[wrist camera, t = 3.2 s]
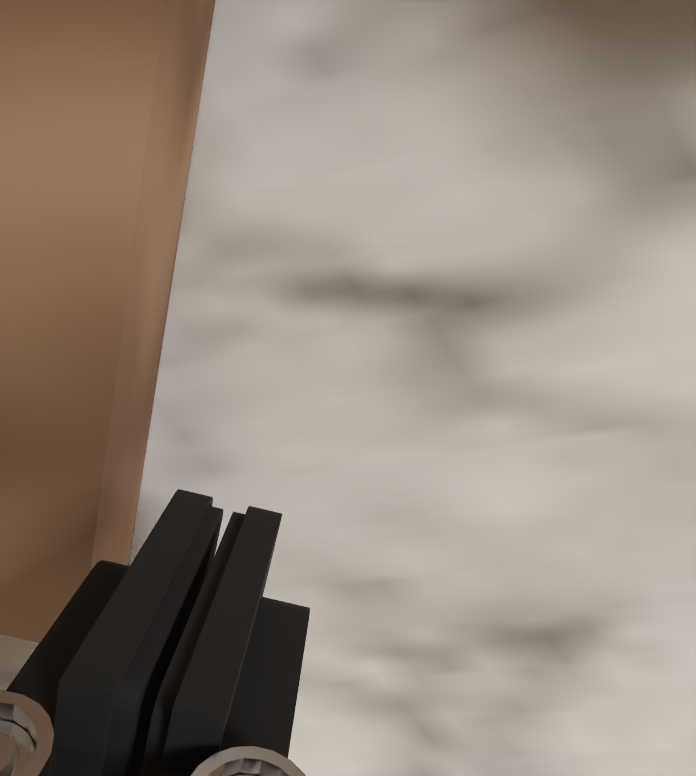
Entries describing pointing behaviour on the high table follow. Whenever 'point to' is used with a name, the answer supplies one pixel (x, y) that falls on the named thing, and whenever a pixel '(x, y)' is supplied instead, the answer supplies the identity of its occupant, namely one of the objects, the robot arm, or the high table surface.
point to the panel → (85, 275)
